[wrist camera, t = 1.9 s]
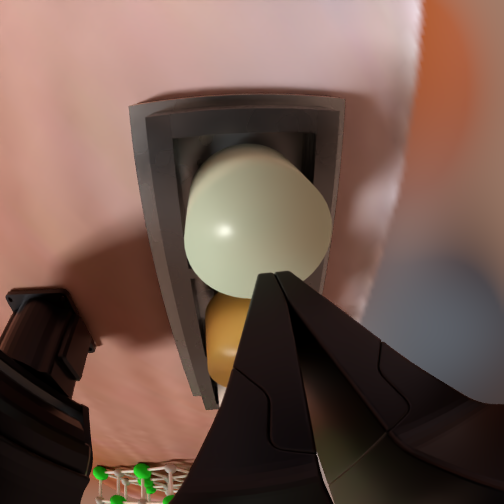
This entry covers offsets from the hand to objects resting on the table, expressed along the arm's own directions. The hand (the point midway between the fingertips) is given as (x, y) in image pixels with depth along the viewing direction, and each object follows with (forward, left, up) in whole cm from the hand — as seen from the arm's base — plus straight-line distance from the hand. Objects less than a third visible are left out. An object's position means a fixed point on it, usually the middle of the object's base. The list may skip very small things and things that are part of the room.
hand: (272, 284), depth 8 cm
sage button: (0, 0, -6) cm, 6 cm away
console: (0, -7, -9) cm, 11 cm away
